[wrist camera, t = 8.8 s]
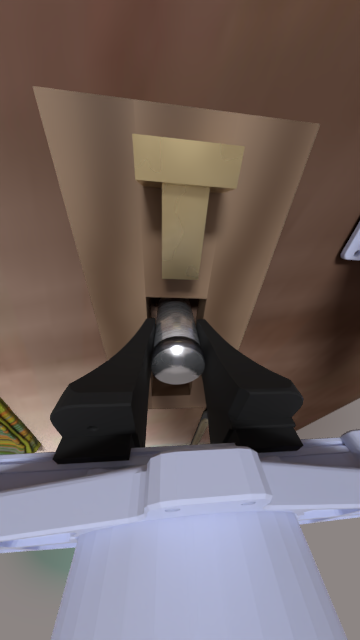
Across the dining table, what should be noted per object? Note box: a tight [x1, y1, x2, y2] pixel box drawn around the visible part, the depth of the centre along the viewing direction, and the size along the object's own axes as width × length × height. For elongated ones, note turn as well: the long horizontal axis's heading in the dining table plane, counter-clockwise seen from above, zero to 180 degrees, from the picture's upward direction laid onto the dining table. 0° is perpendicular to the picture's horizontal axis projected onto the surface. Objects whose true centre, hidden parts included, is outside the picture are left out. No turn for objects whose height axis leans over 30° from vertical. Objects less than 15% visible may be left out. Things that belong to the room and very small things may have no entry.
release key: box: [132, 134, 245, 280], centre depth 8 cm, size 4×5×2 cm
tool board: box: [33, 86, 320, 409], centre depth 14 cm, size 12×24×2 cm, turn 176°
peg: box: [151, 297, 205, 384], centre depth 12 cm, size 3×3×7 cm
